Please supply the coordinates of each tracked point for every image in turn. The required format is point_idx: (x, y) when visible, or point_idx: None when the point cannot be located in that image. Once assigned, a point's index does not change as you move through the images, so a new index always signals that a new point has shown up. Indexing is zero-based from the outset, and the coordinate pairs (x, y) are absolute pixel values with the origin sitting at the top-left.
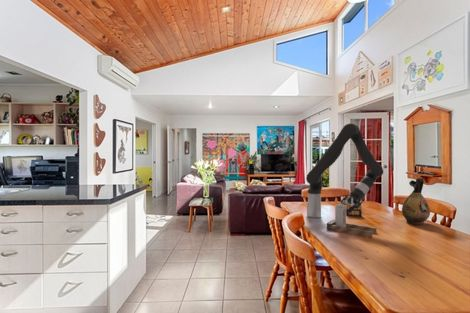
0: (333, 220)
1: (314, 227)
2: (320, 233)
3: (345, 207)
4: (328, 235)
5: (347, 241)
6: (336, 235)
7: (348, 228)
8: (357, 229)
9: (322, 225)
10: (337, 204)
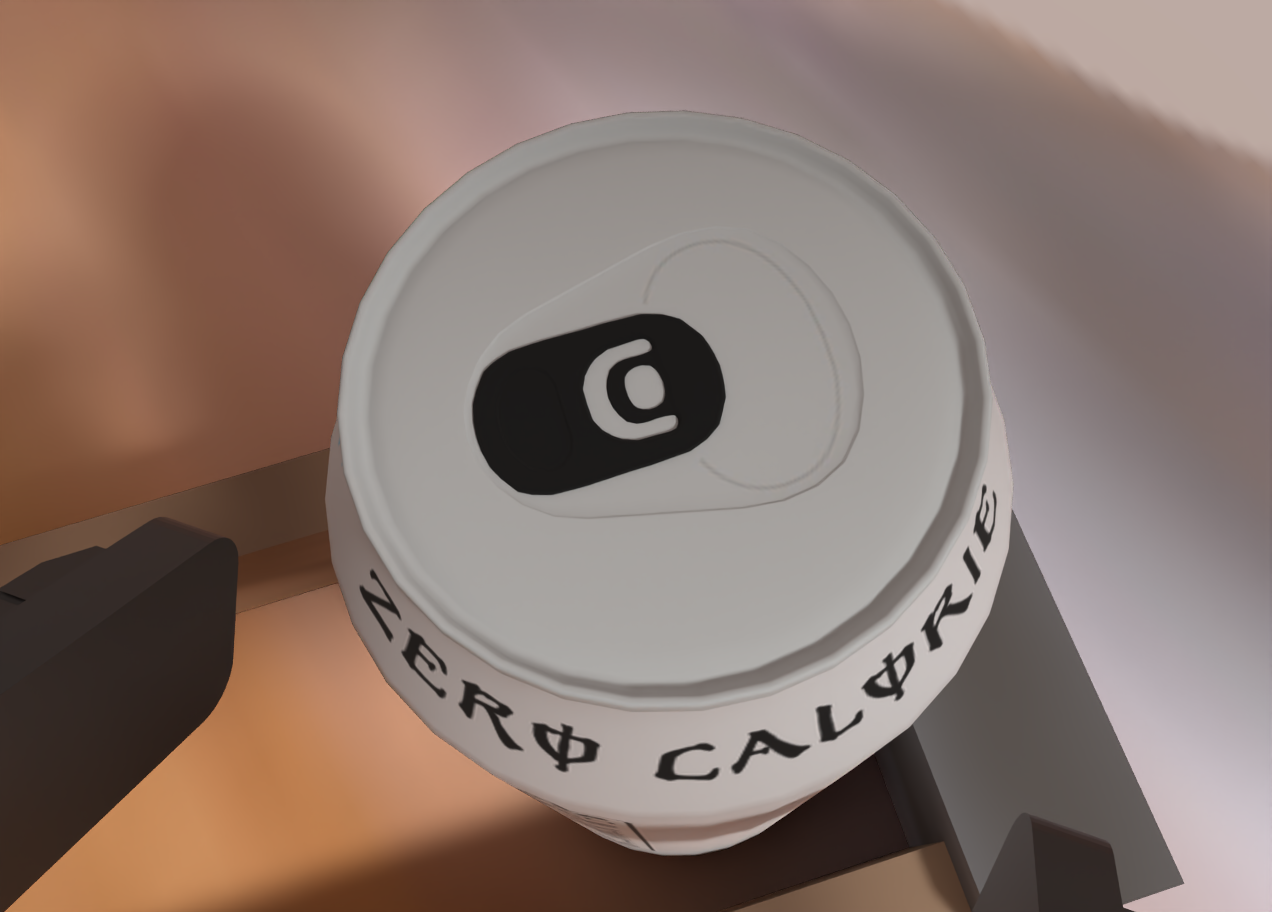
0: (1040, 724)
1: (1181, 256)
2: (719, 23)
3: (349, 576)
4: (523, 49)
5: (61, 50)
6: (414, 173)
7: (260, 471)
8: (14, 575)
9: (1262, 595)
10: (920, 339)
